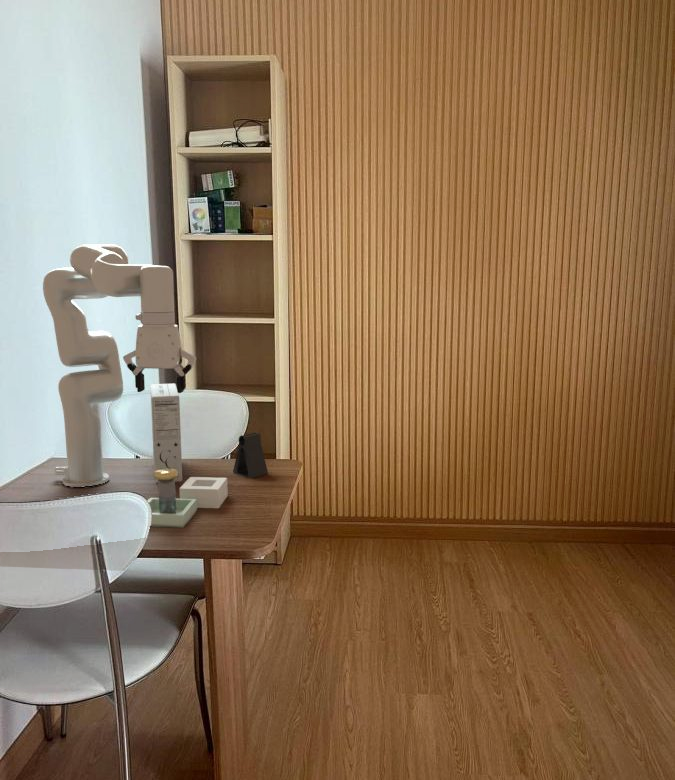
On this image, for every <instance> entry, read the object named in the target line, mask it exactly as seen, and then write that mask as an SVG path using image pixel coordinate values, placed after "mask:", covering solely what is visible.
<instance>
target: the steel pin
mask: <svg viewBox="0 0 675 780" xmlns="http://www.w3.org/2000/svg"><path fill="white" fill-rule="evenodd" d="M153 477H154V480H155V479H158V483H157V489H158V490H157V491H158V494H157V495H158V498H159V513H168V514H176V496H177V495H176V482H175V478H176V477H178V471H177V470H176V469H160V470H157V471H155V472H154V471H153Z"/></svg>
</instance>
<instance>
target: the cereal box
mask: <svg viewBox="0 0 675 780" xmlns="http://www.w3.org/2000/svg"><path fill="white" fill-rule="evenodd" d="M149 386H150V388H149V390H150V408H151V409H150V411H151V429H152V431H151V432H152V450H153V451H152V453H153V455H152V456H153V468H154V469H153V470H154V471H153V473H154V472H155V471H157V470H160V469H176V470H177V471H178V477H176V478H175V483H180V482H183V464H182V463H183V462H182V437H181V436H182V435H181V434H182V433H181V412H180V411H181V410H180V409H181V407H180V406H181V405H180V395H179V394H180V393H178V392H177V383H153V384H150V385H149ZM154 482H155V484H158V479H155V478H154Z"/></svg>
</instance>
